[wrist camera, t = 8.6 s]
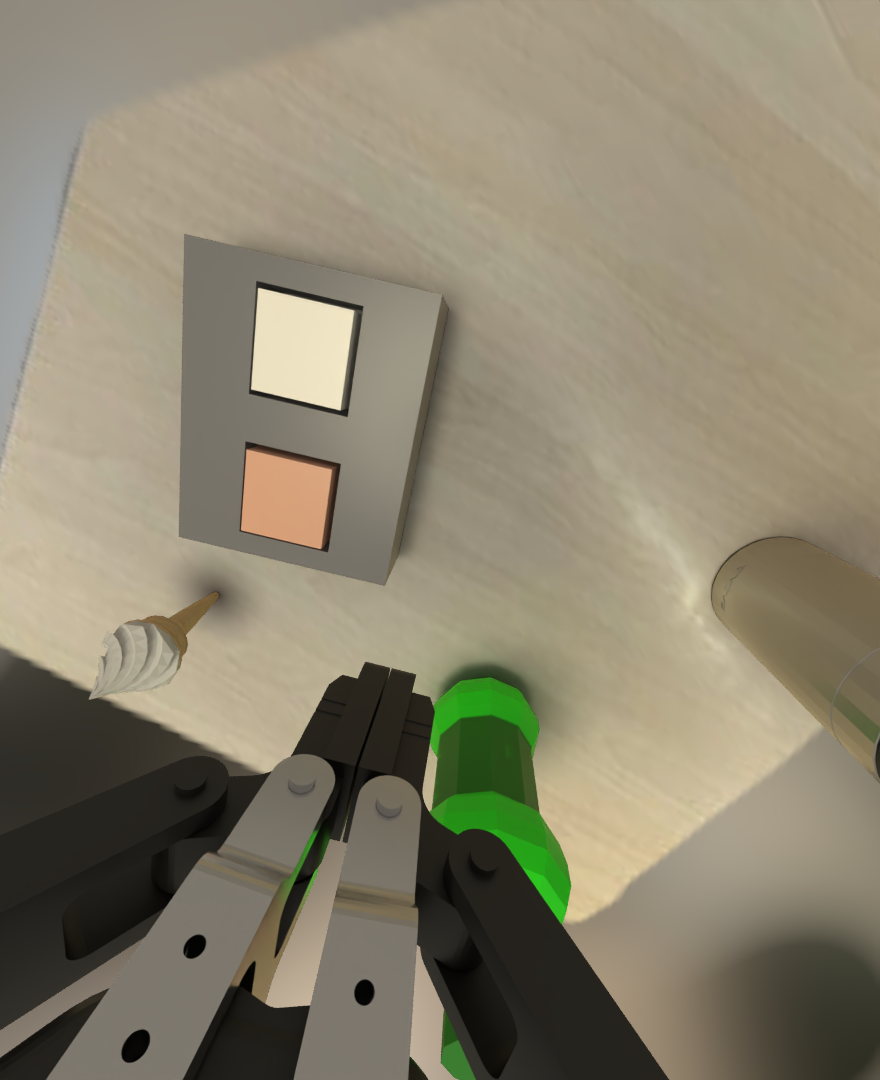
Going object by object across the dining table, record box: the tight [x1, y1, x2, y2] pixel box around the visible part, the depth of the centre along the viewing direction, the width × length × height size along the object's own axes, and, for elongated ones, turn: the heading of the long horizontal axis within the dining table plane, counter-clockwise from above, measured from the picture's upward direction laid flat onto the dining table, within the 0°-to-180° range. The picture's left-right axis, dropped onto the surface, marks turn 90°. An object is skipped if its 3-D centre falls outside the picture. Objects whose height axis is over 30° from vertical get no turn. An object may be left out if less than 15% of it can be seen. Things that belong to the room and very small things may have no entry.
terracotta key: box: [241, 445, 341, 549], centre depth 34 cm, size 6×6×3 cm
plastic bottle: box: [430, 677, 571, 1080], centre depth 33 cm, size 10×10×25 cm
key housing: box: [179, 234, 449, 586], centre depth 34 cm, size 16×20×6 cm
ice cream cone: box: [89, 592, 219, 699], centre depth 36 cm, size 6×6×15 cm
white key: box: [251, 288, 362, 410], centre depth 30 cm, size 6×6×3 cm
